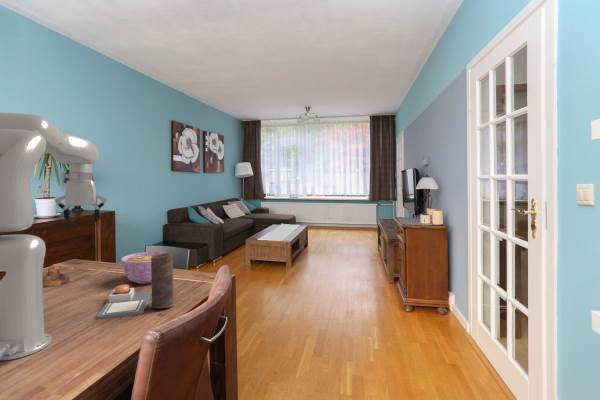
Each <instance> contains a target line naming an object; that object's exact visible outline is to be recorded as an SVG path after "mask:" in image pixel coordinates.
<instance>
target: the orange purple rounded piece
mask: <svg viewBox="0 0 600 400" xmlns="http://www.w3.org/2000/svg"><path fill="white" fill-rule="evenodd" d="M60 270H61V269H60V267H59V266H50V267H48V270H47V274H44V275H43V276H42V286H43V287H44V288H45V289H46V288H53V287H59V286H62V285H65V284H68V283H69V282H70V280H71V279H70V277H69V275H67V274H65V273H61V271H60Z"/></svg>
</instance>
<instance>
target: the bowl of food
mask: <svg viewBox="0 0 600 400" xmlns="http://www.w3.org/2000/svg"><path fill="white" fill-rule="evenodd" d="M159 253H163V254H164V253H166V252H164V251H145V252H137V253H131V254H127V255H125V256H122V258H120V260H121V263H122V267H123V270H124V274H125V277H126V278H127V279H128V280H129V281H131V282H133V283H136V284H138V285H148V284H152V281H151V258H152V257H153V256H154V255H156V254H159Z"/></svg>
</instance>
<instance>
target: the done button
mask: <svg viewBox="0 0 600 400" xmlns="http://www.w3.org/2000/svg"><path fill="white" fill-rule="evenodd" d="M129 288H130V285H129V284H120V285H117V286H115V287H114V289H115V295H118V294H127V293H129Z"/></svg>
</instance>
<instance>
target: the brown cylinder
mask: <svg viewBox="0 0 600 400" xmlns="http://www.w3.org/2000/svg"><path fill="white" fill-rule="evenodd" d="M173 263H174V262H173V253H172V252H170V253H169V252H165V253H164V254H163V253H159V254H156V255H154V256H153V257H152V258H151V281H152V283H151V307H152V308H154V309H159V310H160V309H167V308H172V307H173V306H175V305H174V298H175V297H174V274H173V273H174V272H173V268H174V267H173Z"/></svg>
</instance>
